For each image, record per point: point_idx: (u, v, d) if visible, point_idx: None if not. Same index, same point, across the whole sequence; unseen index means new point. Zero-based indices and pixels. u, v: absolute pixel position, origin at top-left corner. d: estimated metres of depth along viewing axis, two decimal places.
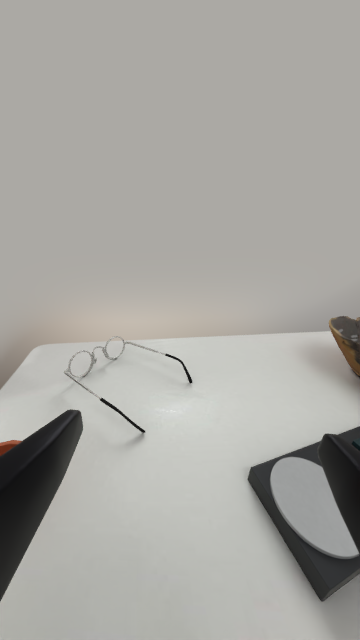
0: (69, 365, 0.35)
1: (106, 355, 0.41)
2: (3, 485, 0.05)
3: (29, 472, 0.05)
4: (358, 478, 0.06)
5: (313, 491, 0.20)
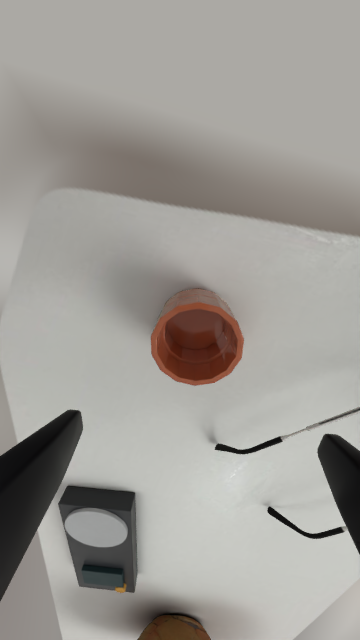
0: None
1: None
2: (3, 485, 0.05)
3: (29, 472, 0.05)
4: (358, 478, 0.06)
5: (99, 532, 0.26)
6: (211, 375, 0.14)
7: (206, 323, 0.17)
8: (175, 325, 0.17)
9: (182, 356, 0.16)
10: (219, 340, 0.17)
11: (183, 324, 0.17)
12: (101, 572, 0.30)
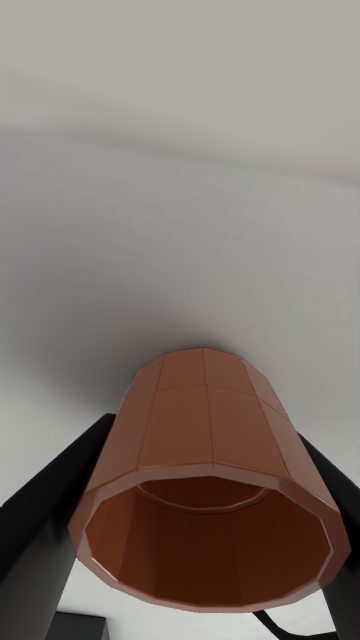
0: None
1: None
2: (62, 491, 0.05)
3: (81, 477, 0.05)
4: None
5: None
6: (240, 586, 0.06)
7: None
8: None
9: (170, 491, 0.08)
10: None
11: None
12: None
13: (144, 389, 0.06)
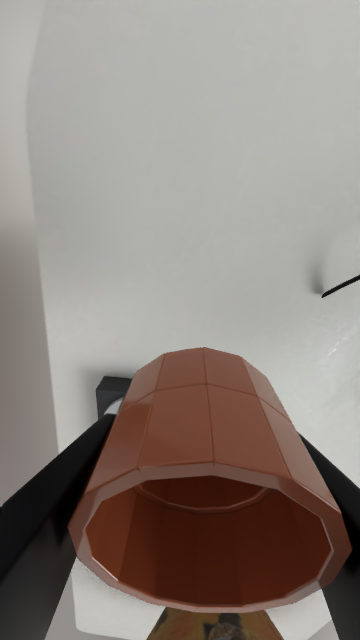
0: None
1: None
2: (63, 491, 0.05)
3: (81, 477, 0.05)
4: None
5: None
6: (240, 586, 0.06)
7: None
8: None
9: (170, 491, 0.08)
10: None
11: None
12: None
13: (144, 389, 0.06)
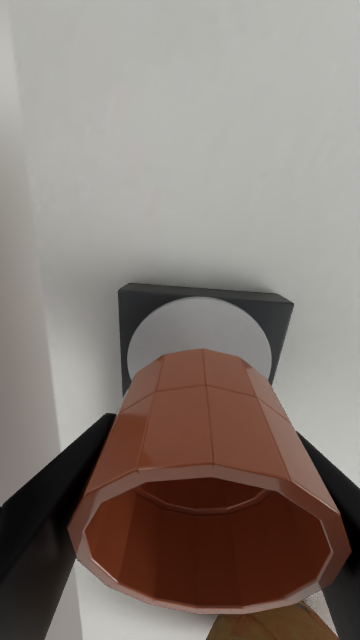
0: None
1: None
2: (62, 491, 0.05)
3: (81, 477, 0.05)
4: None
5: None
6: (240, 587, 0.06)
7: None
8: None
9: (170, 492, 0.08)
10: None
11: None
12: None
13: (144, 390, 0.06)
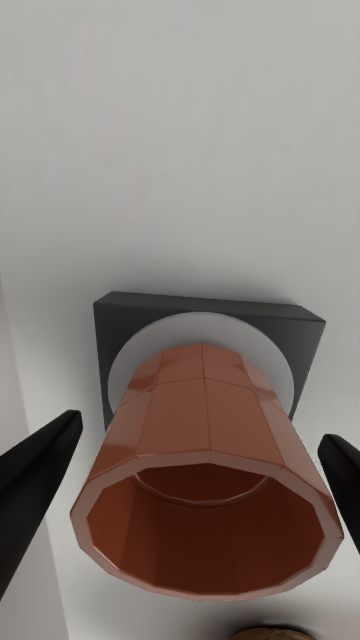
0: None
1: None
2: (3, 485, 0.05)
3: (29, 472, 0.05)
4: (358, 478, 0.06)
5: None
6: (237, 575, 0.06)
7: None
8: None
9: (169, 485, 0.08)
10: None
11: None
12: None
13: (144, 383, 0.06)
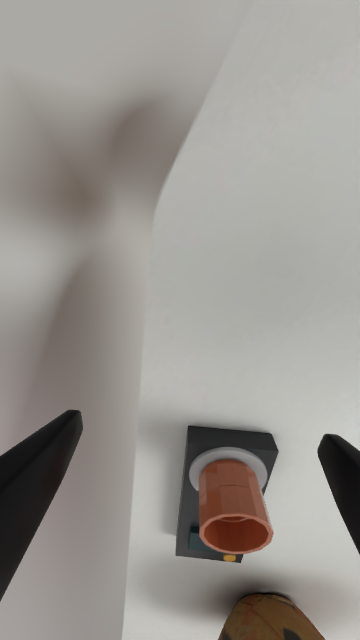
0: None
1: None
2: (3, 485, 0.05)
3: (29, 472, 0.05)
4: (358, 478, 0.06)
5: None
6: (245, 546, 0.18)
7: None
8: None
9: None
10: None
11: None
12: None
13: (214, 483, 0.18)
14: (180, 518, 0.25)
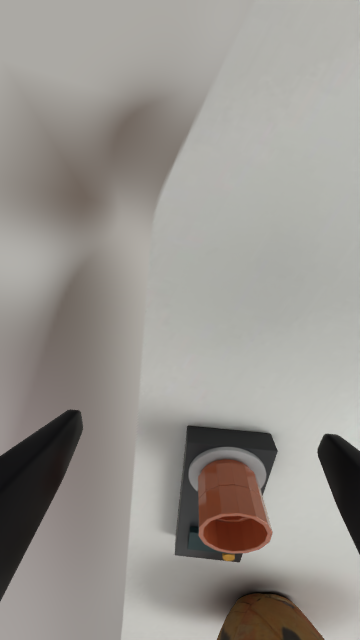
0: None
1: None
2: (3, 485, 0.05)
3: (29, 472, 0.05)
4: (358, 478, 0.06)
5: None
6: (244, 545, 0.18)
7: None
8: None
9: None
10: None
11: None
12: None
13: (213, 483, 0.19)
14: (179, 518, 0.25)
